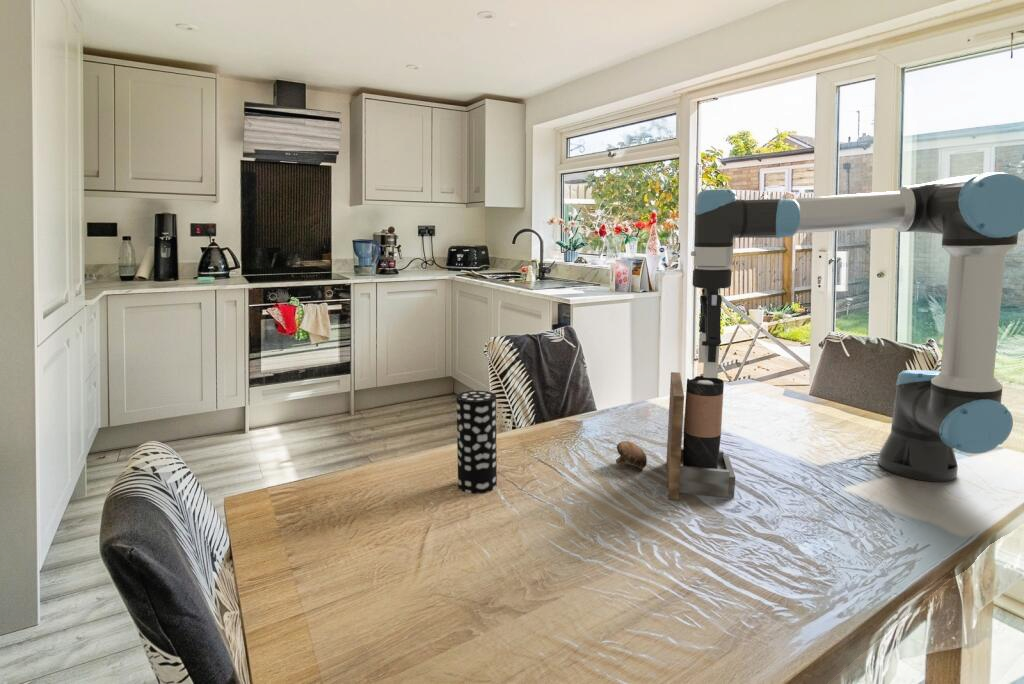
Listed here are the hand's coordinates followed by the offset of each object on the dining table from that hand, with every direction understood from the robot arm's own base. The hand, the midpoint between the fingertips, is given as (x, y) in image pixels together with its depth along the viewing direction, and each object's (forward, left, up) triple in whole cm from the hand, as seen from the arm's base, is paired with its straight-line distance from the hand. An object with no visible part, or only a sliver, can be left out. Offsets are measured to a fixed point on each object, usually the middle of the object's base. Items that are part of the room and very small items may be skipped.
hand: (707, 369), depth 129 cm
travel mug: (0, 0, -23) cm, 23 cm away
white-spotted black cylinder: (+47, +12, -26) cm, 55 cm away
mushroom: (+15, -6, -26) cm, 30 cm away
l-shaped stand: (0, 0, -25) cm, 25 cm away
